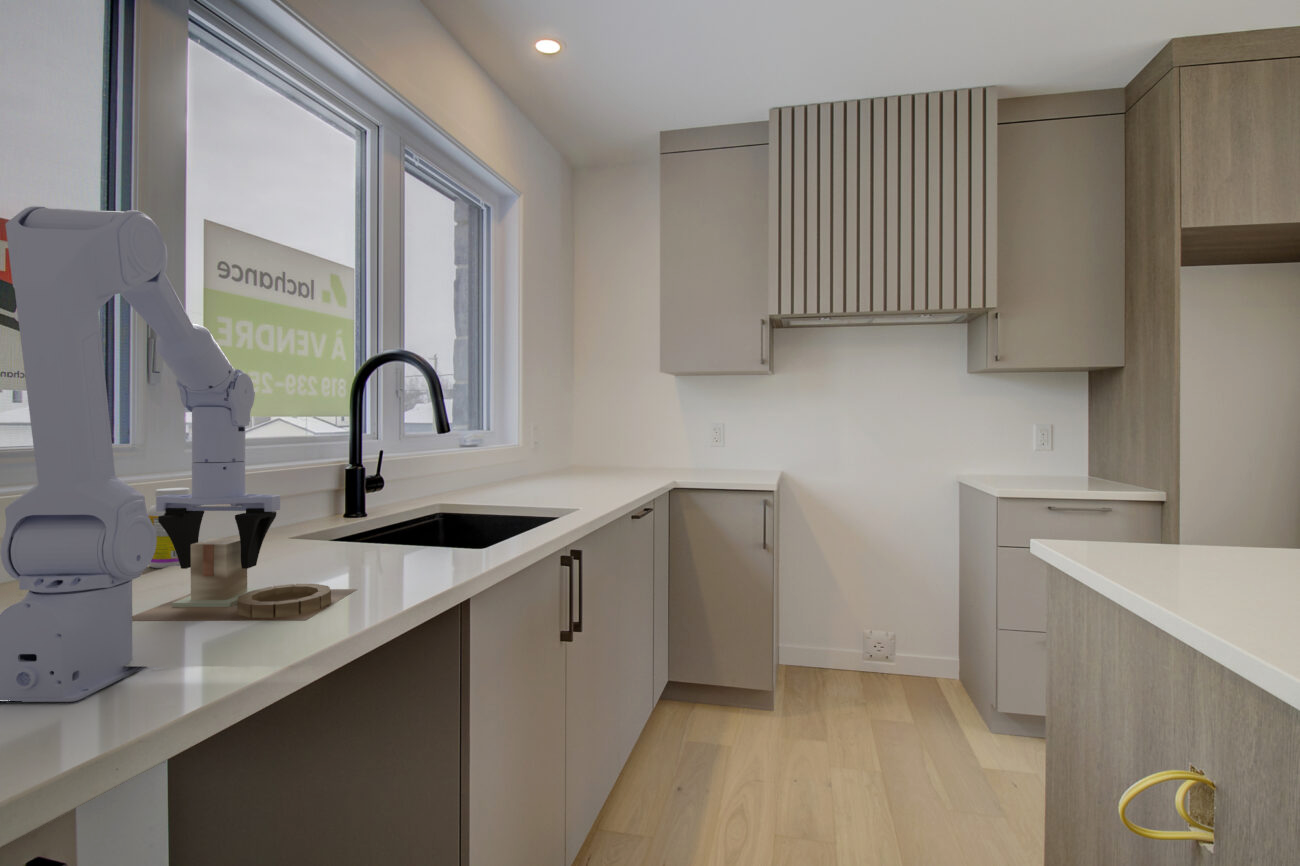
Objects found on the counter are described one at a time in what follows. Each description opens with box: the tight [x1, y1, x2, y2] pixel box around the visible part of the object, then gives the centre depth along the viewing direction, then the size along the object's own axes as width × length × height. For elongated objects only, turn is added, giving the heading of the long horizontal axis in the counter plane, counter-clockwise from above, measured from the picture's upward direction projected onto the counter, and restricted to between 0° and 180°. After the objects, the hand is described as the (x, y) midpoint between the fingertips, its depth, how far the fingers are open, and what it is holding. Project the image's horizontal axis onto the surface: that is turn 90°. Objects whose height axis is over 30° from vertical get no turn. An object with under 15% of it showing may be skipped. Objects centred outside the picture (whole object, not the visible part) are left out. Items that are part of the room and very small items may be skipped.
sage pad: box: [172, 587, 262, 607], centre depth 83 cm, size 7×7×1 cm
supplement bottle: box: [147, 487, 191, 569], centre depth 108 cm, size 7×7×13 cm
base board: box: [132, 583, 358, 622], centre depth 81 cm, size 14×21×3 cm, turn 92°
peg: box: [190, 537, 248, 600], centre depth 83 cm, size 4×4×7 cm
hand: (219, 567), depth 83 cm, fingers open, 7 cm apart
